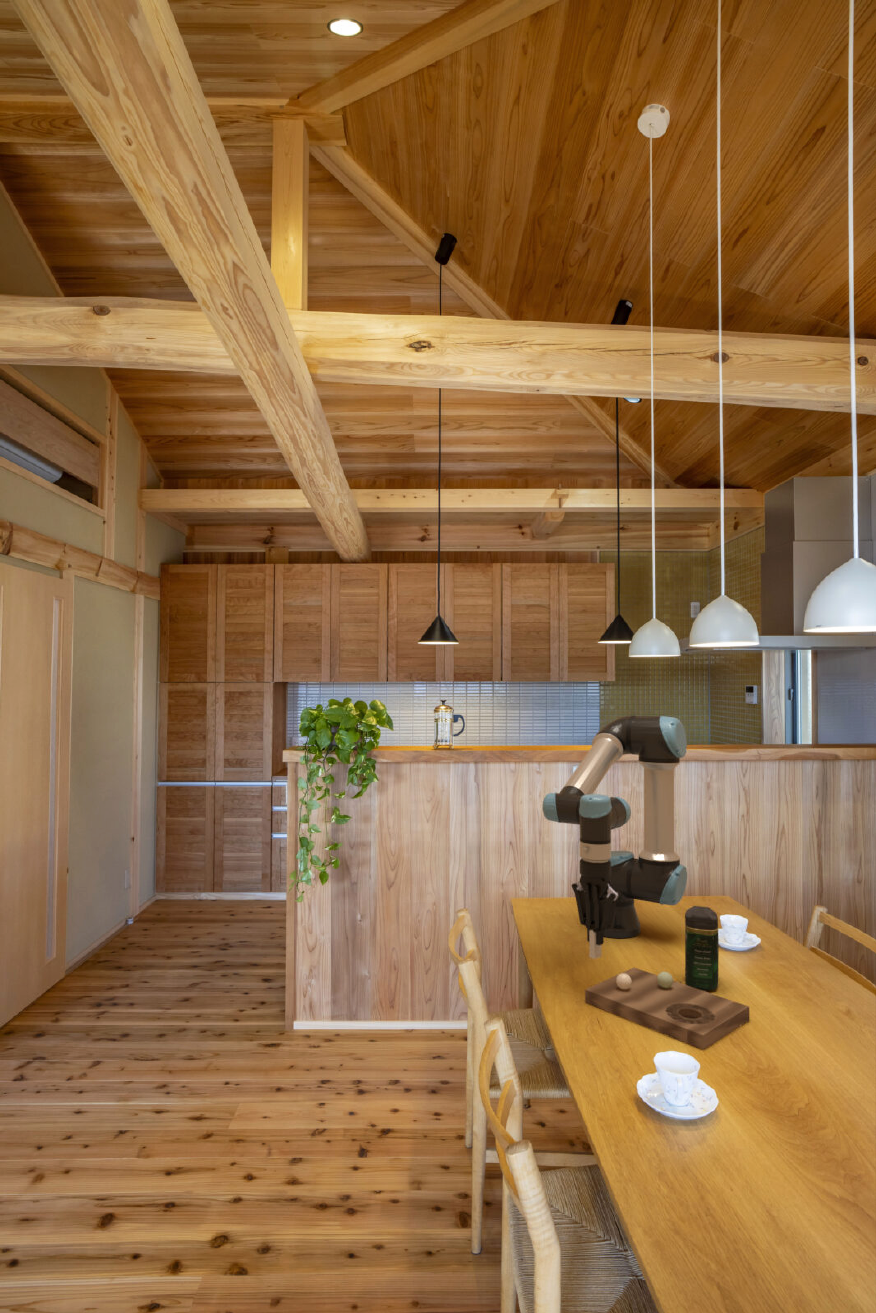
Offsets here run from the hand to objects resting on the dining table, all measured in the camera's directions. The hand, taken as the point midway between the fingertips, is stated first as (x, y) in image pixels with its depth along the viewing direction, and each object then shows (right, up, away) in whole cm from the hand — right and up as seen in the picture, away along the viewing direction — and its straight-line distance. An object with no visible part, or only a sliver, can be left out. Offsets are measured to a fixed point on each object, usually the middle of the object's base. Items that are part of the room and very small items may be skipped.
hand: (595, 956), depth 182 cm
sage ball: (+16, -4, -5) cm, 17 cm away
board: (+14, -8, -11) cm, 19 cm away
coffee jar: (+27, -9, +4) cm, 29 cm away
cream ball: (+6, -4, -6) cm, 9 cm away
